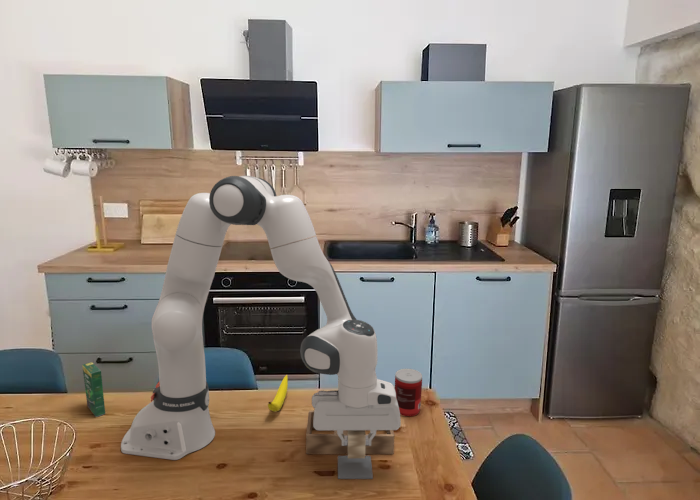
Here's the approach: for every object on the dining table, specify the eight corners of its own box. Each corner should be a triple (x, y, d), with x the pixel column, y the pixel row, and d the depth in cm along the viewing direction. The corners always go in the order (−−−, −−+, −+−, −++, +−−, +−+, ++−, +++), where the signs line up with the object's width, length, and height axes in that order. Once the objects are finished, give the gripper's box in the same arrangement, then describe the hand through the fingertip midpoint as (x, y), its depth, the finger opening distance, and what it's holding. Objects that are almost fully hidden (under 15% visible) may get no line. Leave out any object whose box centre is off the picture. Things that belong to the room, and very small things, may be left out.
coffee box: (86, 406, 143) (81, 363, 140) (96, 402, 145) (92, 360, 142) (94, 417, 137) (90, 373, 134) (106, 414, 139) (101, 370, 136)
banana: (291, 389, 154) (291, 370, 153) (275, 424, 136) (275, 402, 134) (282, 389, 155) (282, 370, 153) (264, 423, 136) (264, 401, 135)
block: (347, 458, 116) (348, 435, 115) (347, 447, 120) (347, 425, 118) (365, 458, 116) (365, 435, 115) (364, 447, 120) (364, 425, 119)
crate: (306, 454, 123) (306, 435, 122) (308, 427, 134) (308, 410, 133) (393, 454, 124) (394, 436, 123) (388, 427, 135) (389, 410, 134)
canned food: (413, 400, 149) (414, 366, 147) (425, 414, 142) (427, 379, 139) (389, 404, 147) (390, 370, 144) (400, 419, 139) (402, 382, 137)
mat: (337, 478, 114) (337, 477, 114) (337, 457, 122) (337, 455, 122) (372, 478, 115) (372, 477, 115) (370, 457, 122) (370, 455, 122)
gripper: (311, 397, 111) (311, 453, 114) (402, 397, 112) (400, 452, 115) (312, 384, 117) (312, 436, 120) (399, 383, 118) (397, 436, 121)
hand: (356, 444), depth 117 cm, fingers closed on block, 4 cm apart
